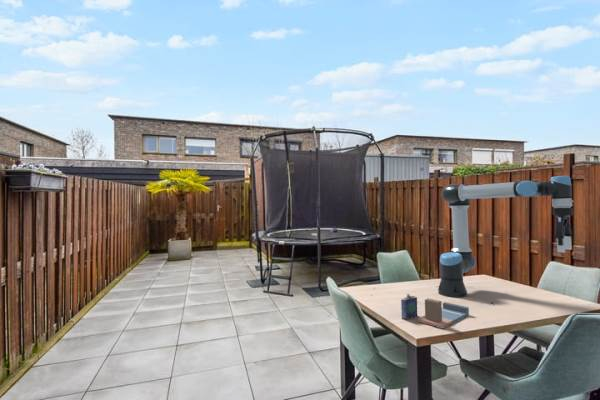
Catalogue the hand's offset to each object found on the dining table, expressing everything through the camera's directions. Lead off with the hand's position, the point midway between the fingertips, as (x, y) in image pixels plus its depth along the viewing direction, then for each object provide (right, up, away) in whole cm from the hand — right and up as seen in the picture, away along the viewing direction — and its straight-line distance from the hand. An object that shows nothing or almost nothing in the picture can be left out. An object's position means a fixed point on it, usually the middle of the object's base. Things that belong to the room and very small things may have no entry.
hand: (564, 250), depth 148 cm
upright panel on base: (-70, -29, -15) cm, 77 cm away
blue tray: (-60, -29, -7) cm, 67 cm away
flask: (-79, -30, -7) cm, 84 cm away
